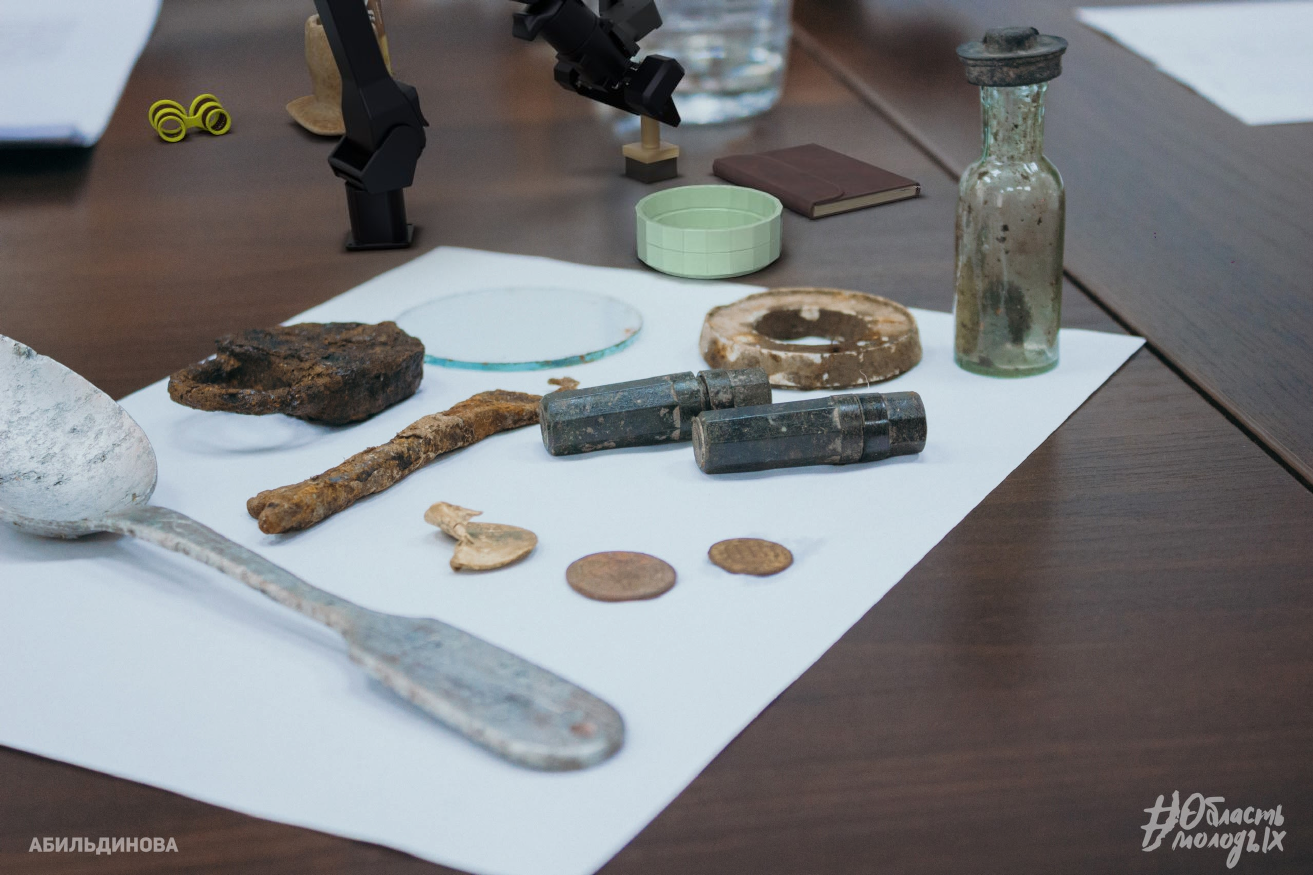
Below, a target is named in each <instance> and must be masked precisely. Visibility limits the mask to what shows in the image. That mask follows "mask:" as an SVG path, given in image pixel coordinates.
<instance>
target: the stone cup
mask: <svg viewBox="0 0 1313 875" xmlns="http://www.w3.org/2000/svg"><path fill="white" fill-rule="evenodd" d="M372 25H373V28H374V31H375V34H376V37H377V40H378V31H377V28H376V26H375V25H374V24H373V23H372ZM303 29H304V31H303V32H304V58H305V62H306V66H307V69H308V72H309V76H310V79H311V83H312V89H313V93H314V94H310V95H309V94H308V95H304V96H300V97H298V98H295V99H293V100H291V101H290V102H288V104H286V107H285V110H286V112H287V113H288V114H289V116H290V117H291V118H293V120H295V121H296V122H297V123H298V124H299V125H300V126H302V127H303V128H305V129H306V130H308V131H309V132H311V133H313V134H316V135H320V136H332V137H333V136H343V135H344V134H345V132H346V131H345V126H344V120H343V115H342V110H341V99H342V79H341V76H340V73H339V70H338V67H337V65H336V62H335V59H334V56H333V53H332V51H331V48H330V45H329V42H328V40H327V37H326V34H325V31H324V29H323V26H322V23H321V20H320V18H319V15H318V13H315V14H313V15H310V16H309V17H308V18H307V20H306V21H305V24H304V28H303Z"/></svg>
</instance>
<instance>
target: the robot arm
mask: <svg viewBox="0 0 1313 875" xmlns="http://www.w3.org/2000/svg"><path fill="white" fill-rule="evenodd" d="M312 1H313V4H314V6H315V9H316V12H317V14H318V15H319V18H320V20H321V23H322V26H323V29H324V31H325V34H326V37H327V40H328V42H329V45H330V48H331V51H332V53H333V56H334V59H335V62H336V65H337V67H338V70H339V73H340V76H341V79H342V99H341V110H342V115H343V120H344V126H345V131H346V132H345V134H344V135H341V138H340V139H339V141H338V142H337V144H336V145H335V146H334V148H333V150H332V151H331V152H330V154H328V157H327V158H326V159H327V163H328V165H329V167H330V169H331V171H332V173H333V174H334V176H335V177H337V178H339V179H340V178H341V179H342V180H344V181H345V182H344V189H345V195H346V196H345V197H346V203H347V208H348V209H347V210H348V217H349V224H350V231H349V235H348V237H347V240H346V243H345V250H346V251H362V250H378V249H396V248H397V249H399V248H409V247H411V245H412V240H413V237H414V232H415V229H416V228H415V223H413V222H408V218H407V210H406V203H405V195H404V189H405V188H411V187H412V186H413V183H414V178H415V174H416V169H417V164H418V161H419V159H420V158H421V156H422V154H423V151H424V149H425V148H426V147H427V134H426V131H425V128H429V127H430V122H428V121H427V119H426V118H425V116H424V114H423V112H422V110H421V103H420V97H419V94H418V91H417V88H416V87H415V86H413V85H411V84H408V83H405V82H402V81H400V80H397V79H395V78H393V76H392V77H391V75H390V74H389V72H388V70H387V67H386V64H385V61H384V58H383V55H382V52H381V49H380V46H379V43H378V40H377V37H376V34H375V31H374V28H373V25H372V22H371V19H370V16H369V13H368V10H367V7H366V4H365V2H364V0H312ZM509 1H511V2H515V3H519V4H524V5H525V6H524V8H523V9H522V10H520V11H513V12H512V13H511V16H512V20H513V21H512V26H511V36H512V37H513V38H516V39H519V40H523V41H525V42H534V40H535V39H536V37H537V36H538V35H539V36H540V37H541V38H543V40H544V41H545V42H547V44H549V45H550V47H552V49H554V51H555V52H556V54H555V55H554V56H555V59H556V60H558V61H557V63H556V64H555V65H554V67H553V80H554V81H555V82H556V83H557V84H558V85H559V86H560V87H561V88H562V89H564V90H566V91H570V92H572V93H576V94H577V95H578V96H580V97H584V98H586V99H589V100H592V101H595V102H598V103H601V104H604V105H606V106H609V107H612V108H615V109H617V110H620V111H624V112H626V113H629V114H631V115H635V116H638V117H640V115H643V116H646V117H648V118H651V119H654V120H656V121H659V122H660V123H662V124H664V125H667V126H670V127H671V128H675V129H676V128H678V127H679V125H680V124H681V122H682V118H681V116H680V113H679V110H678V108H677V106H676V103H675V101H674V99H673V96H672V95H673V93H674V92H675V90H676V89H677V87H678V85H679V83H681V81H682V79H683V78H684V76H685V75H686V71H685V68H684V67H683V66H682V65H681V63H680V62H679V61H678V60H677V59H676V58H674V57H670V56H666V55H662V54H658V53H654V54H649V55H645V57H644V58H643V59H644V60H643V62H642V63H639V62H637V61H633V60H631V59H632V58H635V57H636V56H637V54H638V53H639V52H640V50H641V49H642V47H640V46H639V44H638V42H640V41H642V40H643V39H644V38H645V37H646V36H648V35H649V34H651V33H652V32H653V31H655V30H658V29H659V28H661V27H662V26H663V24H664V23H663V22H664V21H663V19H662V17H661V15H660V12H659V9H658V7H657V4H656V2H655V0H598V15H599V16H598V15H597V14H596V13H595V12H594V11H593V10H592V9H591V8H590V7H589V5H587V4H586V3H585V2H584V1H583V0H509ZM424 127H425V128H424Z"/></svg>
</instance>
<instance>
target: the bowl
mask: <svg viewBox="0 0 1313 875" xmlns="http://www.w3.org/2000/svg"><path fill="white" fill-rule="evenodd" d="M634 218H635V219H634V220H635V221H634V222H635V249H636V254H637V257H638V259H640V260H641V261H642V262H644V263H645V264H646V265H648V266H649V267H651V268H652V269H654V270H655V271H658V272H661V273H663V274H667V275H669V276H675V277H680V278H687V279H698V280H699V279H702V280H715V279H716V280H717V279H728V278H736V277H741V276H745V275H749V274H753V273H755V272H758V271H760V270H763V269H764V268H766V267H768V266H769V265H770V264H772V263H773V262H774V261H775V260H777V259H779V257H780V255H781V252H782V250H783V224H784V223H783V222H784V220H783V219H784V206H783V205H782V204H781V202H780V201H779V199H777V198H775V197H774V196H772V195H770V194H768V193H765V192H762V191H758V190H755V189H751V188H745V187H741V186H739V185H730V184H729V185H728V184H698V185H697V184H696V185H685V186H679V187H672V188H666V189H663V190H659V191H657V192H653V193H650V194H649V195H646V196H645V197H643V198H641V199H640V200H639V201H638V202H637V203H636V205H635V206H634Z"/></svg>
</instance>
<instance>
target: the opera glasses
mask: <svg viewBox="0 0 1313 875" xmlns="http://www.w3.org/2000/svg"><path fill="white" fill-rule="evenodd" d="M190 104H191V105H190V107H189V113H188V114H189V115H188V114H187V111H186V109H185V108H184V107H183V106H182V105H181V104H180V103H178V102H177V101H174V100H170V99H162V100H158V101H157V102H154V103H153V104H152V105H151V106H150V108H149V111H148V119H149V122H150V124H151V126H152V127H153V128H154V130H156V131H157V132H158V135H159V136H160V137H161V138H162V139H163V140H165V141H167V142H171V143H175V142H178V141H181V140H182V139H183V138H184V137H185V135H186V132H187V130H188V129H190V128H194V127H195V128H197V129H199V130H201V131H207V132H210V133H212V134H213V135H217V136H218V135H223V134H225V133H226V132H228V130H230V127H231V124H232V118H231V116H230V114H229V113H228V112H227V111H226V110H225V109H224V107H223V106H222V104H221V102H220V101H219V99H218V97H216V96H214V95H213V94H210V93H204V94H201V95H198V96H196V98H195V99H194V100H192V103H190ZM212 116H214V118H213V120H211V118H212ZM171 120H172V121H173V120H174V121H176V122H178V123H179V124H180V126H179V127H177V128H175V129H165V128H162V126H163V124H164V123H166V122H168V121H171Z"/></svg>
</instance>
